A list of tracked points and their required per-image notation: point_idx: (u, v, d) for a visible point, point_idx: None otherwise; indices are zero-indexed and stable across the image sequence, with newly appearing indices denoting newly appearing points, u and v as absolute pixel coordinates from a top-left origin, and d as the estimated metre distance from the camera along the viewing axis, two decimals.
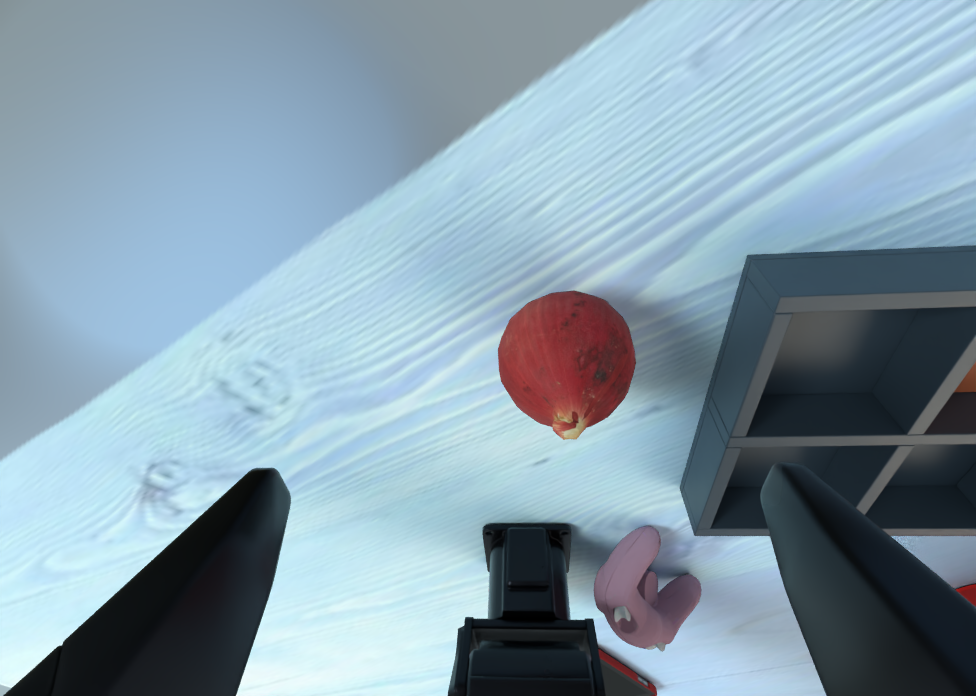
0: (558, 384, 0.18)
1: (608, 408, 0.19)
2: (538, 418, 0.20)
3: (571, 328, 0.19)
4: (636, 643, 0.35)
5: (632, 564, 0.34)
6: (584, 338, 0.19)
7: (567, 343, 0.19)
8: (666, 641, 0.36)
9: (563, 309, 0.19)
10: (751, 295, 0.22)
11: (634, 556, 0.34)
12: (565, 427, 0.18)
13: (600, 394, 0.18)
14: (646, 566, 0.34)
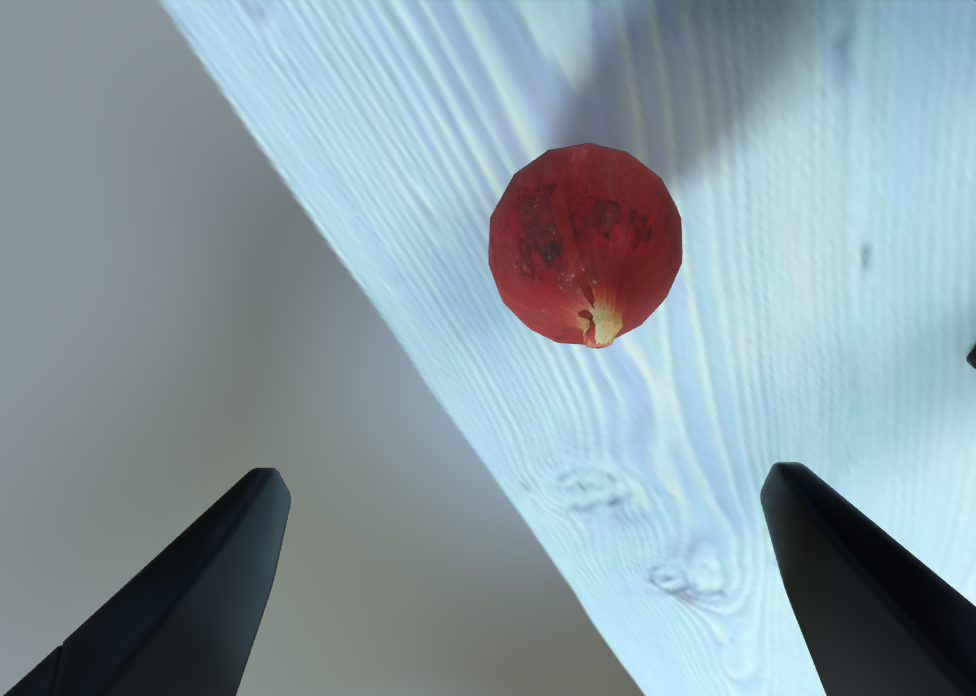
0: (544, 311, 0.13)
1: (616, 248, 0.12)
2: None
3: (498, 257, 0.14)
4: None
5: None
6: (508, 248, 0.13)
7: (507, 273, 0.14)
8: None
9: (489, 248, 0.15)
10: None
11: None
12: (590, 336, 0.12)
13: (575, 264, 0.12)
14: None
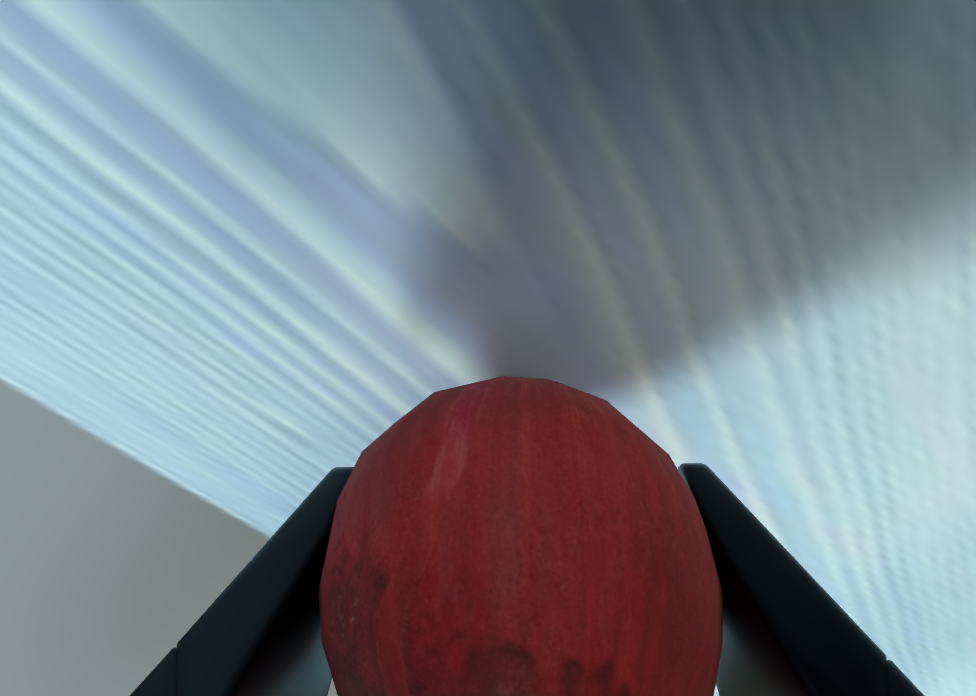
0: None
1: None
2: None
3: None
4: None
5: None
6: (332, 670, 0.06)
7: None
8: None
9: None
10: None
11: None
12: None
13: None
14: None
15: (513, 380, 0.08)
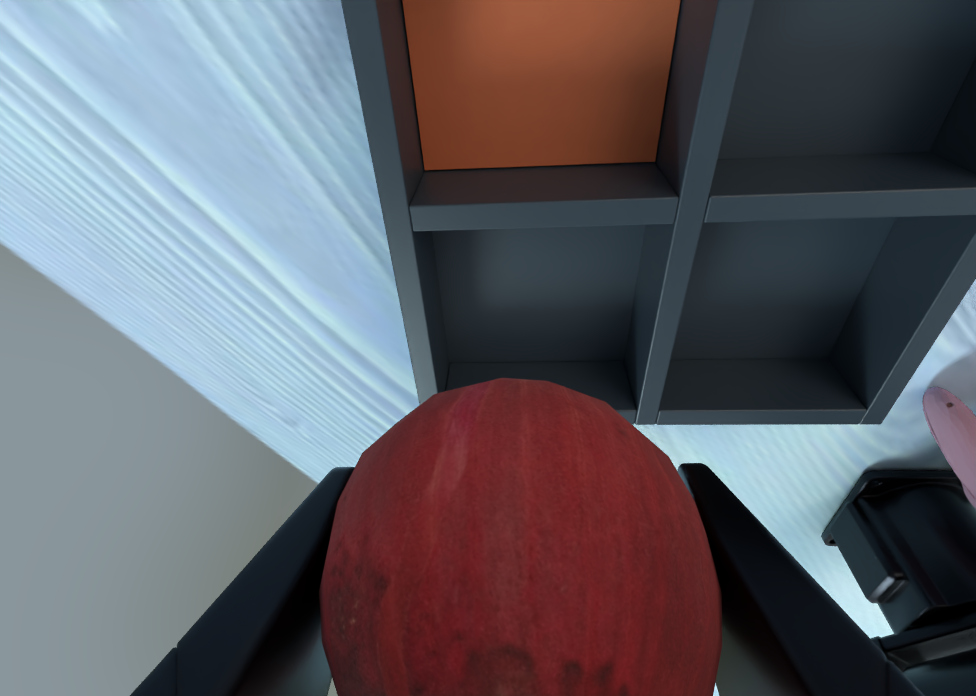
0: None
1: None
2: None
3: None
4: None
5: (960, 461, 0.20)
6: (331, 671, 0.06)
7: None
8: None
9: None
10: None
11: (950, 449, 0.21)
12: None
13: None
14: None
15: (513, 382, 0.08)
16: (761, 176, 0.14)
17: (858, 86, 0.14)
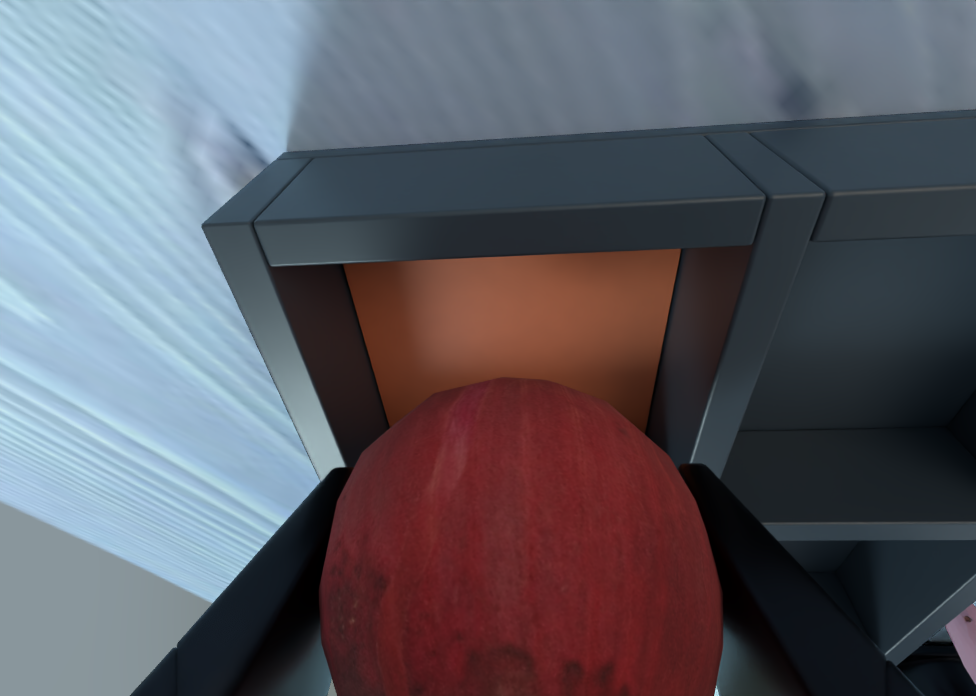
0: None
1: None
2: None
3: None
4: None
5: None
6: (331, 671, 0.06)
7: None
8: None
9: None
10: None
11: (968, 661, 0.19)
12: None
13: None
14: None
15: (513, 381, 0.08)
16: (761, 478, 0.13)
17: (868, 378, 0.13)
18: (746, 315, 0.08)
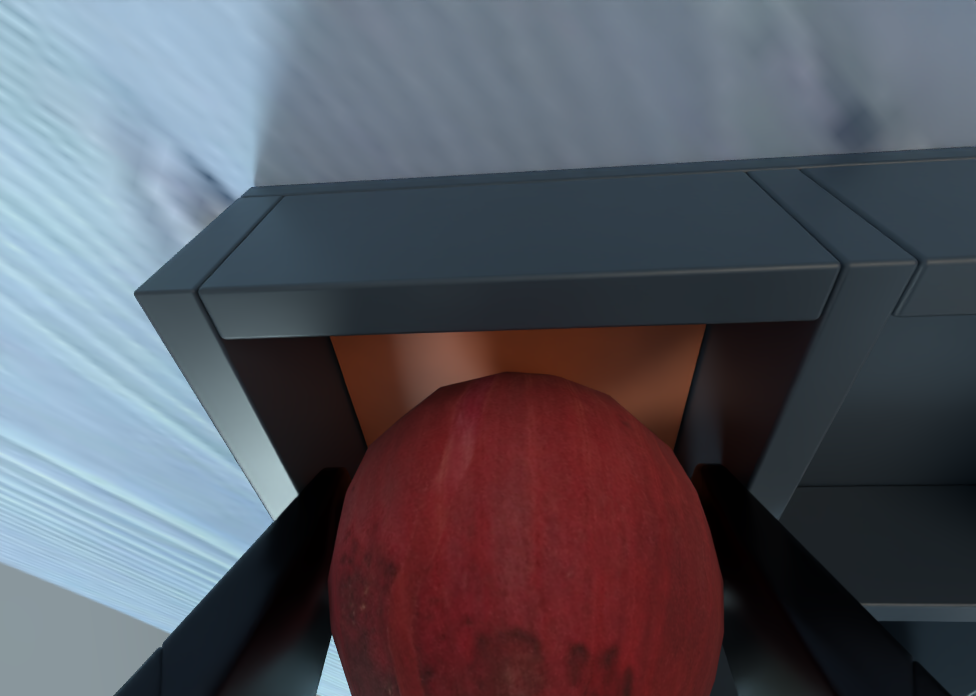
0: None
1: None
2: None
3: None
4: None
5: None
6: (341, 657, 0.06)
7: None
8: None
9: None
10: None
11: None
12: None
13: None
14: None
15: (518, 375, 0.08)
16: None
17: (917, 434, 0.11)
18: (803, 397, 0.07)
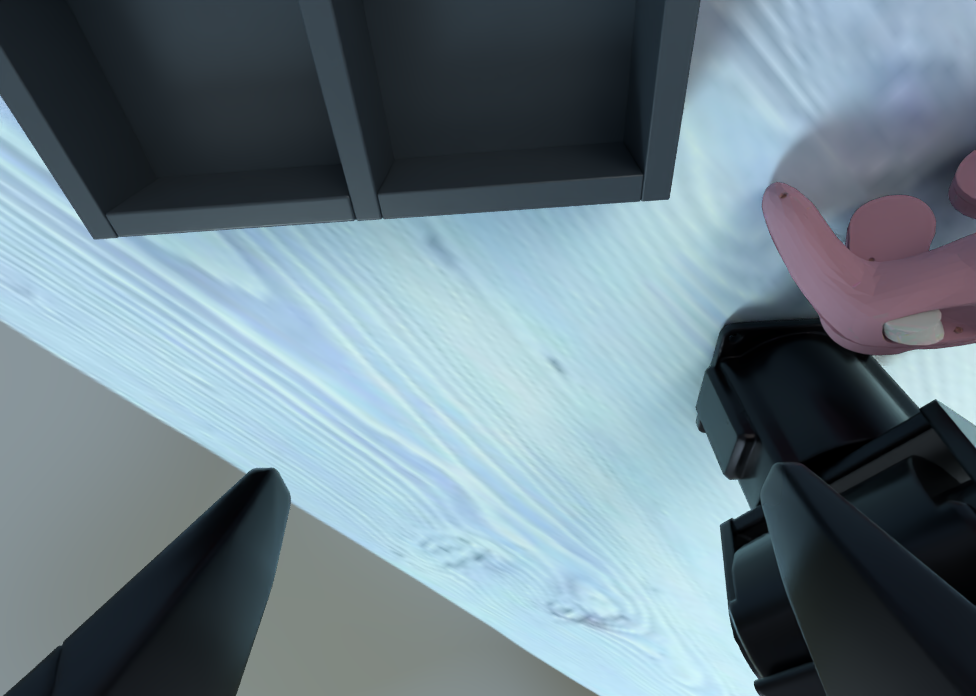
0: None
1: None
2: None
3: None
4: None
5: (801, 269, 0.16)
6: None
7: None
8: None
9: None
10: None
11: (790, 258, 0.16)
12: None
13: None
14: (815, 245, 0.15)
15: None
16: None
17: None
18: None
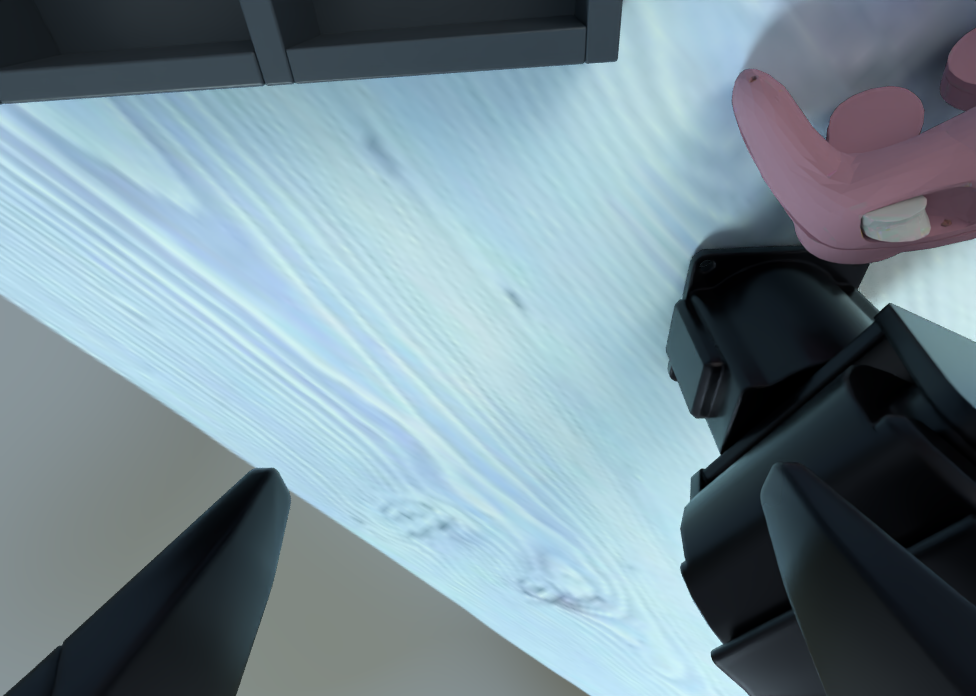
0: None
1: None
2: None
3: None
4: None
5: (772, 164, 0.14)
6: None
7: None
8: None
9: None
10: None
11: (760, 153, 0.14)
12: None
13: None
14: (786, 132, 0.14)
15: None
16: None
17: None
18: None
